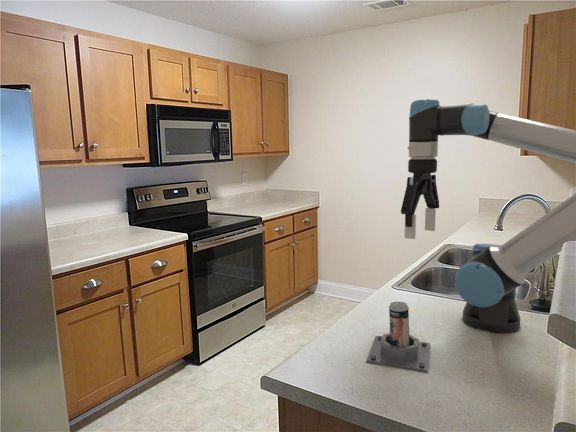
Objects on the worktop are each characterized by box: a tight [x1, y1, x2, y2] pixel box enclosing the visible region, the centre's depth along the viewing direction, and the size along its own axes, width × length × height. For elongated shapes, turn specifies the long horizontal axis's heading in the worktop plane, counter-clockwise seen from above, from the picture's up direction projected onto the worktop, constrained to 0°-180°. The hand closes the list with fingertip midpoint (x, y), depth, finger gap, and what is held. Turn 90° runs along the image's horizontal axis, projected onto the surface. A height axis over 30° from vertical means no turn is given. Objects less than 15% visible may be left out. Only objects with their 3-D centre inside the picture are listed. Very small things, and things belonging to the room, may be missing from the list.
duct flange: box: [365, 332, 431, 373], centre depth 102 cm, size 14×14×4 cm
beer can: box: [388, 301, 410, 347], centre depth 102 cm, size 5×5×12 cm
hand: (420, 234), depth 116 cm, fingers open, 13 cm apart
